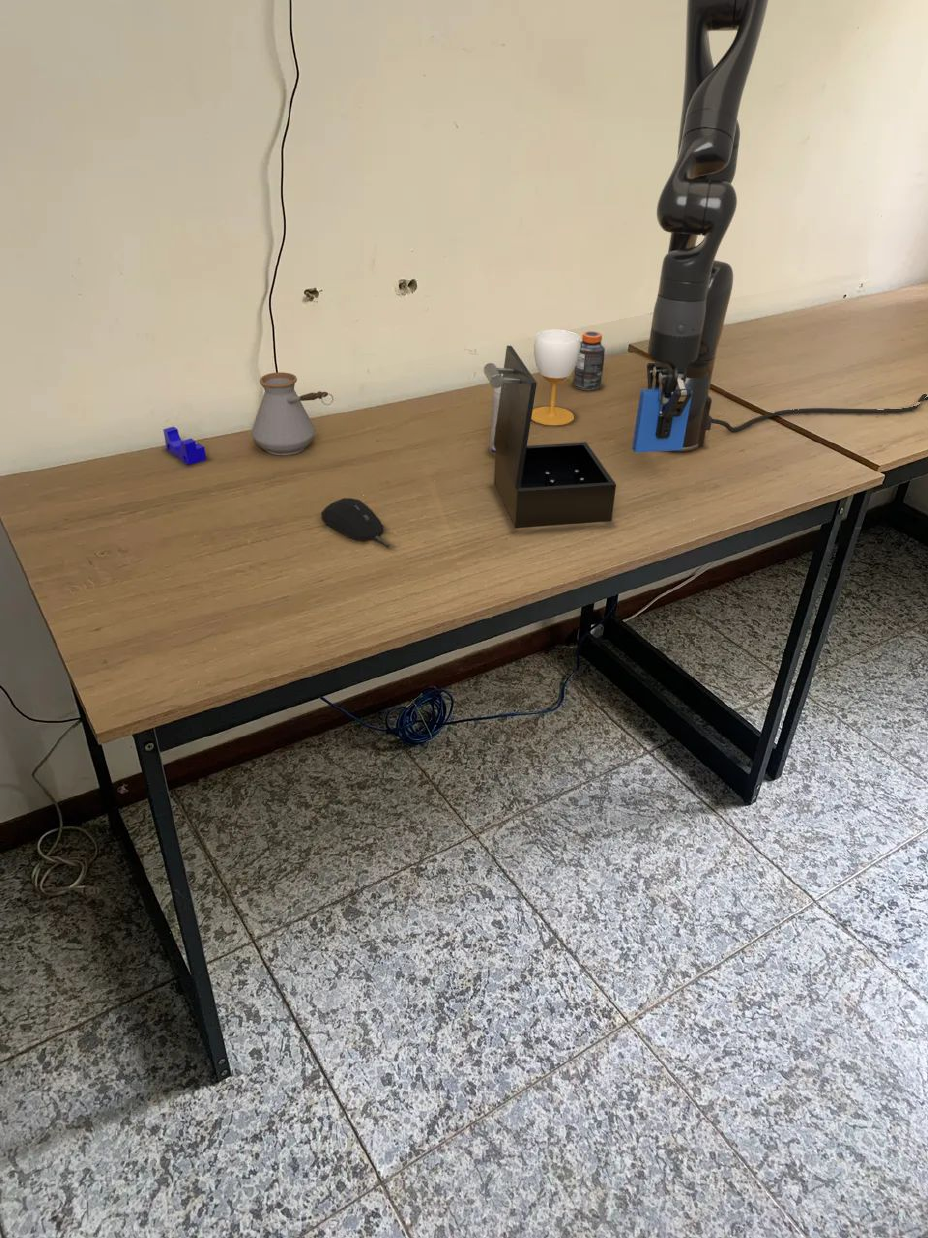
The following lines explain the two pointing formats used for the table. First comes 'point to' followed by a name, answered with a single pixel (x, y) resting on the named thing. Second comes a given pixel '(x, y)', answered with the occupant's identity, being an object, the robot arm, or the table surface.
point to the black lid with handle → (512, 412)
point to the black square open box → (557, 487)
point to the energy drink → (494, 415)
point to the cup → (555, 370)
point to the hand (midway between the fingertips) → (659, 434)
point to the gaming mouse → (353, 519)
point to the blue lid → (648, 424)
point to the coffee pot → (283, 416)
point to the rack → (553, 480)
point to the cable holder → (183, 447)
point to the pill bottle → (590, 362)
